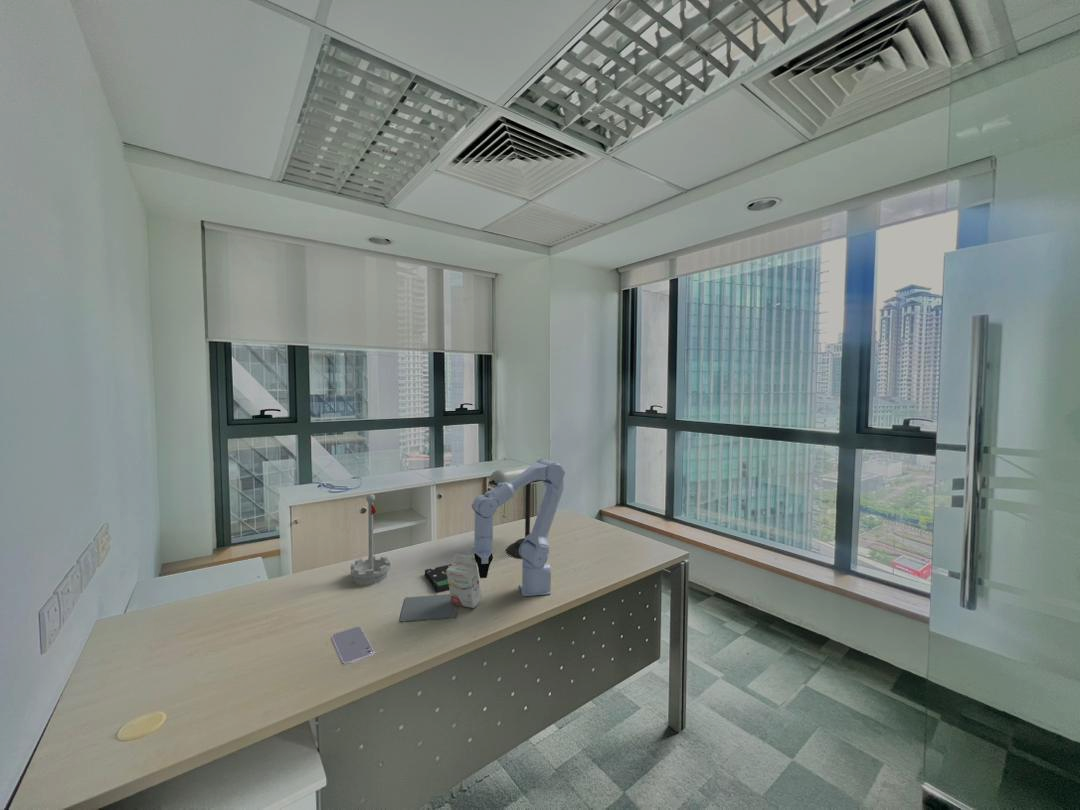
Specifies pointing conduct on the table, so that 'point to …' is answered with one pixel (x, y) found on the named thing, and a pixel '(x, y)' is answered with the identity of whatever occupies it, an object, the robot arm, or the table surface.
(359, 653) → the mobile phone
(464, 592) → the ink cartridge box
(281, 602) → the table surface
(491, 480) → the lamp
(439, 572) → the disk drive
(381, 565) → the flag stand
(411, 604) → the mat
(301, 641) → the table surface
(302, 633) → the table surface
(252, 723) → the table surface
